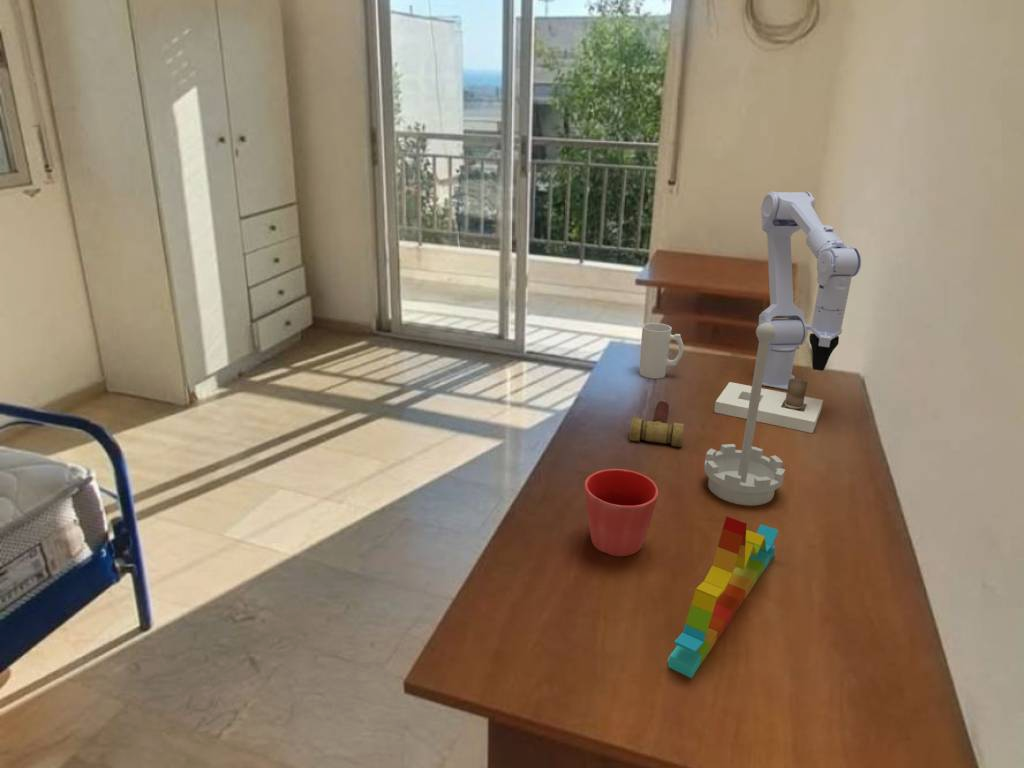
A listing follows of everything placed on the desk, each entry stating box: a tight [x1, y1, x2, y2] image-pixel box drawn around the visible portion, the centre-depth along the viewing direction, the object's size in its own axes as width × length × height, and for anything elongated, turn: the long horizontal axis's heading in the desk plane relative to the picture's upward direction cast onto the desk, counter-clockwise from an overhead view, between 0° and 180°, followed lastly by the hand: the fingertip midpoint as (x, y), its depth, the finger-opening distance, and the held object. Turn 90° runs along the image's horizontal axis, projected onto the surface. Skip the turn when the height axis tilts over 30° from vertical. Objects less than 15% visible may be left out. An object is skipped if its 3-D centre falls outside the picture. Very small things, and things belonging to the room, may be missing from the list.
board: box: [713, 381, 824, 434], centre depth 156 cm, size 13×20×2 cm, turn 62°
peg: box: [785, 377, 808, 411], centre depth 152 cm, size 4×4×8 cm
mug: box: [639, 322, 684, 380], centre depth 172 cm, size 10×7×12 cm, turn 69°
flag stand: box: [703, 323, 786, 506], centre depth 120 cm, size 13×13×30 cm
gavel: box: [629, 400, 685, 448], centre depth 149 cm, size 21×5×10 cm
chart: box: [667, 516, 779, 679], centre depth 94 cm, size 30×3×15 cm, turn 144°
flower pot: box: [583, 468, 659, 557], centre depth 108 cm, size 11×11×10 cm
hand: (818, 369), depth 153 cm, fingers closed
